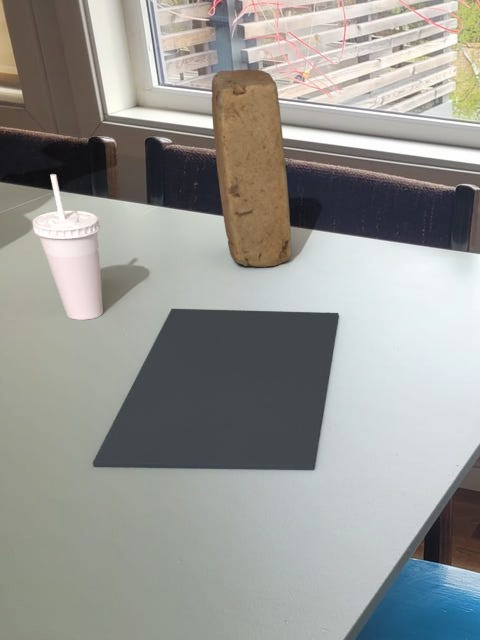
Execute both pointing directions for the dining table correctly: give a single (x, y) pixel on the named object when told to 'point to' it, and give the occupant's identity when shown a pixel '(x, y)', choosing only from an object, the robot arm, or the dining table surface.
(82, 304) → the smoothie
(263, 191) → the block
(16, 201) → the dining table surface
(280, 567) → the dining table surface
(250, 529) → the dining table surface
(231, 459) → the mat
